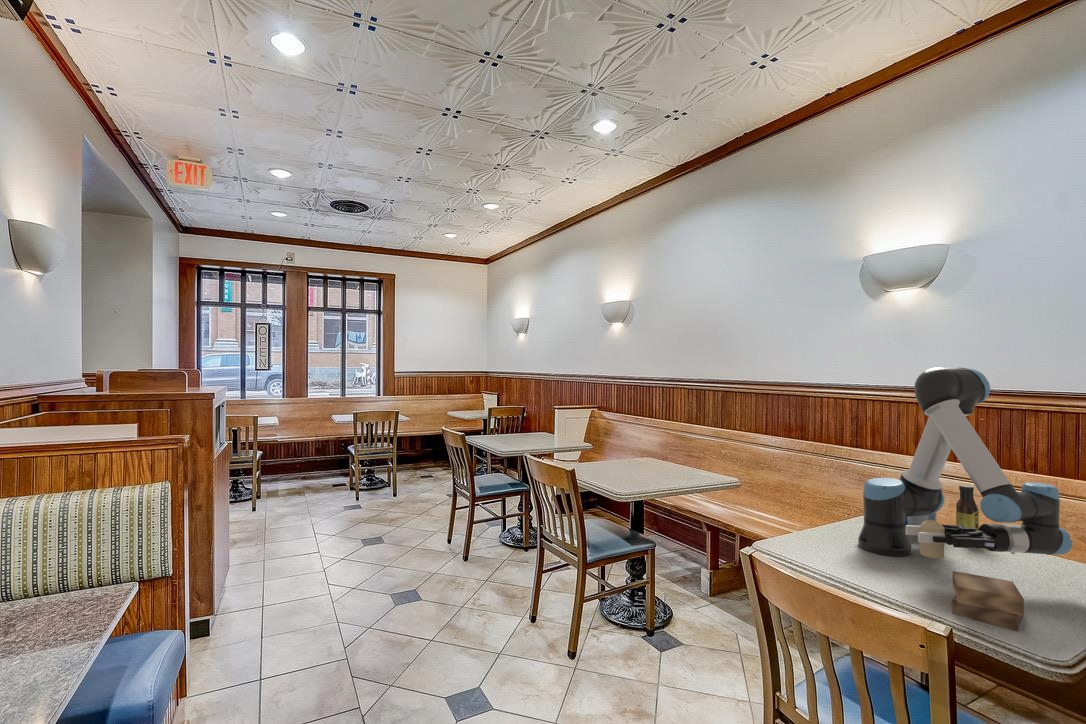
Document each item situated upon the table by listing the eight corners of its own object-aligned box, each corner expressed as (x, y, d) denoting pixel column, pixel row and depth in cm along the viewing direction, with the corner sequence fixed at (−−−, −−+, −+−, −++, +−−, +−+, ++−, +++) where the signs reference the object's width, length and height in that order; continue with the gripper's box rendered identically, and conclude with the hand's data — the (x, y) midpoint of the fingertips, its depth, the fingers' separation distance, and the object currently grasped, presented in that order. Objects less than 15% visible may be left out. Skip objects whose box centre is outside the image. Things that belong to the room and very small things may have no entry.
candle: (948, 560, 143) (948, 524, 143) (926, 558, 144) (926, 523, 144) (937, 552, 149) (937, 518, 149) (916, 551, 150) (916, 517, 150)
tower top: (957, 602, 126) (957, 586, 126) (952, 586, 136) (952, 570, 136) (1023, 616, 119) (1023, 598, 119) (1013, 597, 129) (1012, 581, 129)
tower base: (952, 615, 128) (952, 599, 128) (961, 601, 136) (961, 585, 136) (1017, 633, 119) (1017, 616, 119) (1023, 617, 127) (1022, 601, 127)
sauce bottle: (981, 546, 176) (980, 489, 177) (958, 543, 180) (957, 486, 180) (977, 541, 182) (976, 485, 182) (955, 538, 185) (954, 483, 186)
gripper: (1028, 564, 135) (932, 558, 138) (978, 539, 153) (894, 535, 156) (1028, 535, 135) (932, 531, 138) (978, 514, 153) (895, 511, 156)
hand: (912, 533), depth 147 cm, fingers closed on candle, 5 cm apart
